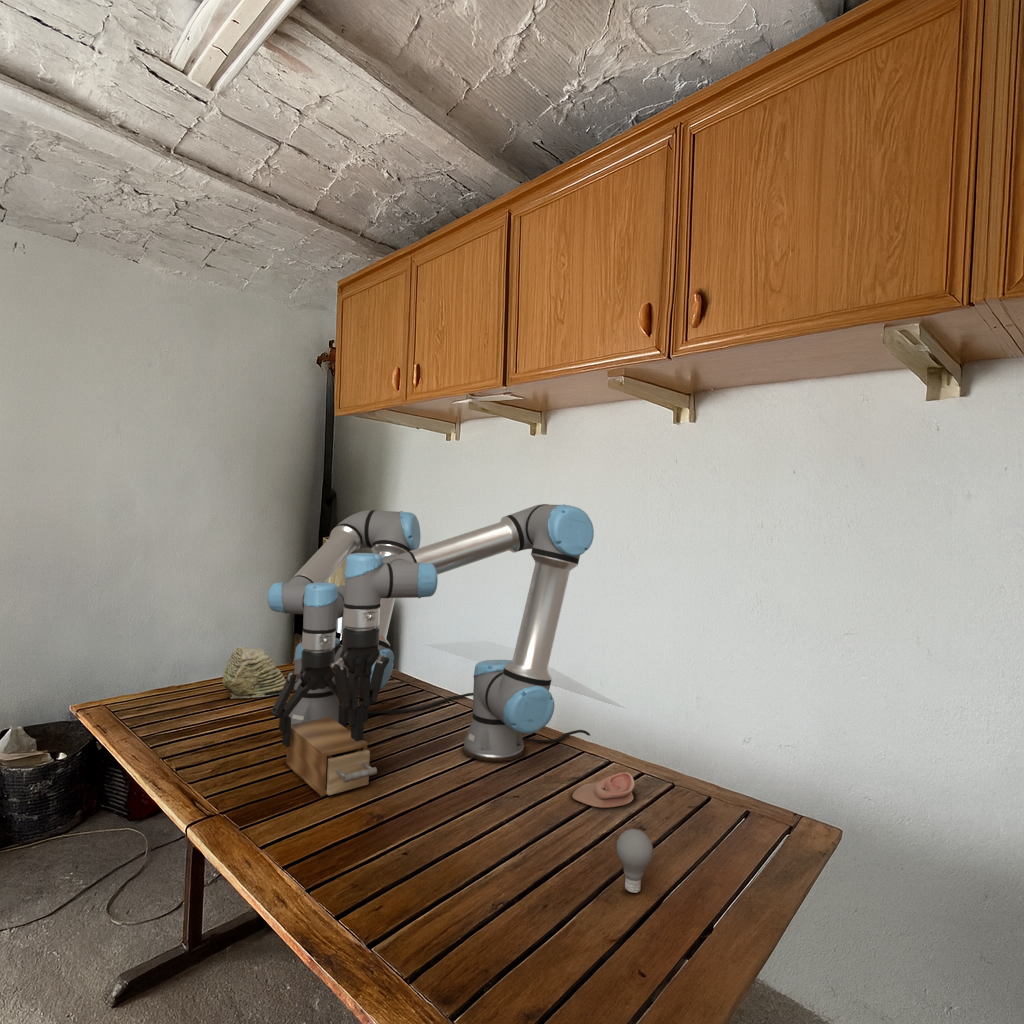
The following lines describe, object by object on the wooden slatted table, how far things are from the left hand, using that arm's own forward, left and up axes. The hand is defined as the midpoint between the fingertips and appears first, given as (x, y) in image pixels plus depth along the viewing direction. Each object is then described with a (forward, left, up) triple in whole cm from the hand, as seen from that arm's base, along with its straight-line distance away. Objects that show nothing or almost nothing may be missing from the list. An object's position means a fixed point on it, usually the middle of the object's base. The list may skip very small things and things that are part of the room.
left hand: (314, 739), depth 149 cm
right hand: (+4, +20, +7) cm, 22 cm away
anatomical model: (-34, +58, -6) cm, 68 cm away
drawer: (+2, +11, -5) cm, 13 cm away
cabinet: (+1, +6, -6) cm, 9 cm away
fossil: (-17, -57, -6) cm, 60 cm away
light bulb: (-8, +79, -6) cm, 80 cm away
